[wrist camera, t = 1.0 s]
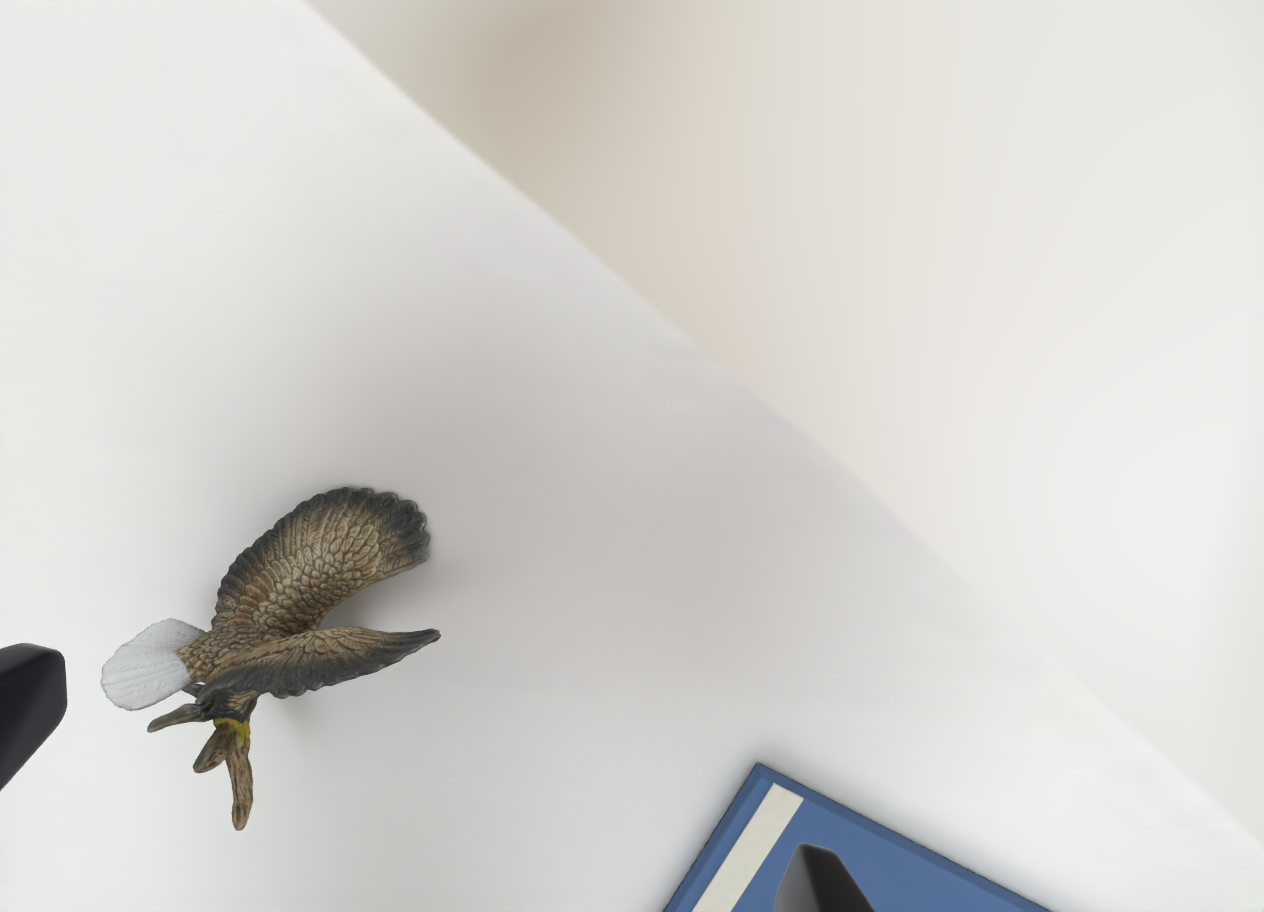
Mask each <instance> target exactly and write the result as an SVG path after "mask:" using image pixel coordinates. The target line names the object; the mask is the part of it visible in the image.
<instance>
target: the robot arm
mask: <svg viewBox="0 0 1264 912" xmlns="http://www.w3.org/2000/svg"><path fill="white" fill-rule="evenodd" d="M66 708H67V688H66V671H65V660H64V657H63V655H62V654H61V653H60V652H59V651H57V650H54V649H50V648H46V647H43V646H39V645H35V644H31V643H20V644H16V645H12V646H9V647H5V648H2V649H0V791H1V790H2V789H3V788H4V787H5V785H6V784H7V783H8V782H9V781H10V780H11V779H12V777H13V776H14V775H15V774H16V773H17V772H18V771H19V770H20V768H21V767H22V766H23V765H24V764H25V763H26V762H27V761H28V759H29V758H30V757H31V756H32V755H33V754H34V753H35V751H36V750H37V749H38V748H39V747H40V746H41V745H42V744H43V742H44V741H45V740H46V739H47V738H48V737H49V736H50V734H51V733H52V732H53V731H54V730H55V729H56V727H57V726H58V725H59V723H60V722H61V720H62V719H63V716H64V714H65V712H66ZM774 912H876V911H875V909H874V908H873V906H872V905H871V903H870V902H869V900H868V899H867V897H866V896H865V894H864V893H863V891H862V890H861V888H860V887H859V885H858V884H857V882H856V881H855V880H854V878H853V877H852V875H851V874H850V872H849V871H848V869H847V868H846V866H845V865H844V863H843V862H842V860H841V859H840V857H839V856H838V855H837V854H836V853H835V852H834V851H833V850H831V849H829V848H825V847H821V846H818V845H814V844H810V843H806V842H803V843H800V844H799V845H797V847H796V848H795V850H794V852H793V854H792V857H791V859H790V861H789V863H788V866H787V868H786V870H785V872H784V875H783V877H782V879H781V881H780V884H779V886H778V889H777V892H776V897H775V904H774Z"/></svg>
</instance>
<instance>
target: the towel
mask: <svg viewBox="0 0 1264 912" xmlns="http://www.w3.org/2000/svg"><path fill="white" fill-rule="evenodd" d="M803 842H806V843H810V844H814V845H818V846H821V847H825V848H829V849H831V850H833V851H834V852H835V853H836V854H837V855H838V856H839V857H840V859H841V860H842V862H843V863H844V865H845V866H846V868H847V869H848V871H849V872H850V874H851V875H852V877H853V878H854V880H855V881H856V882H857V884H858V885H859V887H860V888H861V890H862V891H863V893H864V894H865V896H866V897H867V899H868V900H869V902H870V903H871V905H872V906H873V908H874V909H875V911H876V912H1050V911H1048V910H1046V909H1044V908H1042V907H1040V906H1038V905H1036V904H1034V903H1032V902H1030V901H1028V900H1026V899H1024V898H1022V897H1020V896H1019V895H1017V894H1015V893H1013V892H1011V891H1009V890H1007V889H1005V888H1003V887H1001V886H999V885H997V884H995V883H993V882H991V881H989V880H987V879H985V878H983V877H981V876H979V875H977V874H975V873H973V872H971V871H969V870H967V869H965V868H963V867H962V866H960V865H958V864H956V863H954V862H952V861H950V860H948V859H946V858H944V857H942V856H940V855H938V854H936V853H934V852H932V851H930V850H928V849H926V848H924V847H922V846H920V845H918V844H916V843H914V842H912V841H910V840H908V839H906V838H905V837H903V836H901V835H899V834H897V833H895V832H893V831H891V830H889V829H887V828H885V827H883V826H881V825H879V824H877V823H875V822H873V821H871V820H869V819H867V818H865V817H863V816H861V815H859V814H857V813H855V812H853V811H851V810H849V809H848V808H846V807H844V806H842V805H840V804H838V803H836V802H834V801H832V800H830V799H828V798H826V797H824V796H822V795H820V794H818V793H816V792H814V791H812V790H810V789H808V788H806V787H804V786H802V785H800V784H798V783H796V782H794V781H792V780H791V779H789V778H787V777H785V776H783V775H781V774H779V773H777V772H775V771H773V770H771V769H769V768H767V767H765V766H763V765H761V764H759V763H757V765H756V766H755V768H754V769H753V771H752V772H751V774H750V776H749V777H748V779H747V780H746V782H745V784H744V785H743V787H742V788H741V790H740V792H739V793H738V795H737V796H736V798H735V799H734V801H733V803H732V804H731V806H730V807H729V809H728V811H727V812H726V814H725V815H724V817H723V819H722V820H721V822H720V823H719V825H718V827H717V828H716V830H715V831H714V833H713V834H712V836H711V838H710V839H709V841H708V842H707V844H706V846H705V847H704V849H703V850H702V852H701V854H700V855H699V857H698V858H697V860H696V862H695V863H694V865H693V866H692V868H691V869H690V871H689V873H688V874H687V876H686V877H685V879H684V881H683V882H682V884H681V885H680V887H679V889H678V890H677V892H676V893H675V895H674V897H673V898H672V900H671V901H670V903H669V904H668V906H667V908H666V909H665V911H664V912H774V904H775V897H776V892H777V889H778V886H779V884H780V881H781V879H782V877H783V875H784V872H785V870H786V868H787V866H788V863H789V861H790V859H791V857H792V854H793V852H794V850H795V848H796V847H797V845H799V844H800V843H803Z"/></svg>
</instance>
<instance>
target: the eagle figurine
mask: <svg viewBox="0 0 1264 912" xmlns="http://www.w3.org/2000/svg"><path fill="white" fill-rule="evenodd" d="M416 510H417V507H416V504H415V503H414V502H412V501H398V500H397V497H396V495H395V494H393V493H389V492H386V493H381V494H378V495H375V496H374V497H372V496H371V490H370V489H367V488H362V489H361V490H358V491H356V492H353V489H351V488H347V487H344V488H342V489H337V490H332V491H329V492H328V493H327V494H317V495H315V496H314V497H313V498H311V499H310V500H309V501H303V502H301V503H300V504H299V505H297V506H296V508H295V509H294V510H293V512H290V513H288V514H287V515H285V516H284V517H283V518H281V519H280V520H278V522H277V523H276V524H275V525H274V528H273V529H272V530H268V531H266V532H265V533H264V535H263V536H261V537H259V538H258V539H257V540H256V541H255V542H254V544H253V545H252V547H248V548H246V549H245V550H244V551H243V552H242V553H241V554H239V555H238V556H237V558H236V560H235V562H234V563H232V564H231V566H230V567H229V571H228V573H227V575H226V576H224V577H223V579H222V580H221V587H220V588H219V590H218V592H217V595H218V599H219V601H218V602H217V603H216V607H215V610H216V612H217V615H216V616H214V618H213V619H212V621H211V623H212V627H213V628H212V630H211V631H209V632H207V633H206V632H204V631H203V630H201V629H198V628H196V627H193V626H191V625H189V624H187V623H185V622H182V621H179V620H176V619H166V620H162V621H160V622H158V623H155V624H153V625H151V626H149V627H147V628H146V629H145V630H144V631H143V632H141V633H140V634H138V635H137V636H136V637H135V638H134V639H132V640H131V641H129V642H127V643H125V644H124V645H122V646H121V647H120V648H119V649H118V650H117V651H116V652H115V654H114V656H113V657H112V658H110V659H109V660H108V661H107V662H106V664H105V665H104V666H103V667H102V679H101V686H102V688H103V690H104V692H105V694H106V696H107V698H108V699H109V700H110V701H112V702H113V703H114V705H115V706H117V707H119V708H124V709H125V710H129V711H133V710H140V709H143V708H146V707H149V706H152V705H154V704H156V703H158V702H160V701H162V700H164V699H166V698H167V697H169V696H171V695H172V694H174V693H176V692H178V691H179V690H181V689H182V691H184V692H186V693H189V694H191V695H192V696H194V697H196V698H197V699H196V701H195V703H196V704H184V705H182V706H181V707H179V708H178V709H176V710H174V711H172V712H171V713H168V714H166V715H163V716H160V717H159V718H157V719H155V720H153V721H152V722H151V723H150V724H149V726H148V729H147V731H148V732H150V733H152V732H155V731H158V730H160V729H163V728H165V727H168V726H172V725H176V724H181V723H187V722H206V721H209V720H212V719H213V724H214V726H215V727H216V730H215V731H214V733H213V734H212V736H211V737H210V738H209V740H208V741H207V743H206V744H205V746H204V747H203V749H202V751H201V752H200V754H199V756H198V758H197V759H196V761H195V763H194V765H193V769H194V772H196V773H203V772H207V771H209V770H211V769H213V768H215V767H216V766H218V765H219V764H221V763H222V761H223V760H224V759H225V760H226V763H227V767H228V770H229V774H230V778H231V782H232V789H233V797H234V802H233V806H232V822H233V825H234V827H235V830H237V831H238V830H242V829H243V828H244V827H245V825H246V823H247V820H248V817H249V813H250V810H251V807H252V803H253V794H252V793H253V788H252V785H253V778H252V769H251V765H250V762H249V759H248V753H249V748H250V737H249V736H250V726H249V722H250V715H251V713H252V711H253V710H254V708H255V706H256V703H257V699H258V697H259V696H260V695H261V694H264V693H267V692H269V693H271V694H272V695H273V696H274V697H276V698H279V699H285V698H287V697H288V696H296V697H297V696H300V695H302V694H303V693H305V691H306V690H312V691H316V690H318V689H320V688H322V687H323V686H332V685H335V684H338V683H341V682H344V681H347V680H351V679H355V678H357V677H360V676H364V675H368V674H371V673H374V672H377V671H379V670H381V669H382V668H385V667H387V666H390V665H391V664H394V663H397V662H399V661H401V660H402V659H403V658H404V657H406V656H407V655H409V654H411V653H414V652H417V651H418V650H419V649H421V648H422V647H424V646H426V645H428V644H429V643H432V642H436V641H437V640H438V639H439V638H440V637H441V634H439V633H440V632H439V631H438V630H434V629H427V630H423V631H415V632H393V633H388V632H382V631H374V630H370V629H365V628H359V627H334V628H329V629H324V630H317V627H318V625H319V623H320V621H321V620H322V618H323V617H324V616H325V615H326V614H327V613H328V612H329V611H330V610H331V609H332V608H333V607H335V606H336V605H338V604H339V603H341V602H343V601H344V600H346V599H347V598H349V597H350V596H352V595H354V594H355V593H357V592H358V591H359V590H361V589H363V588H364V587H366V586H368V585H369V584H371V583H373V582H376V581H380V580H382V579H385V578H388V577H392V576H394V575H397V574H399V573H400V572H403V571H406V570H409V569H412V568H414V567H416V566H417V565H419V564H421V563H423V562H425V561H426V560H427V557H428V555H427V552H426V551H425V549H424V548H425V546H426V544H427V543H428V541H429V535H428V534H427V533H426V532H424V531H423V530H422V529H423V527H424V526H425V524H426V517H425V516H424V514H422V513H418V512H417V511H416ZM316 630H317V631H316ZM198 682H203V683H206V684H205V685H201V684H196V683H198Z"/></svg>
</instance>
